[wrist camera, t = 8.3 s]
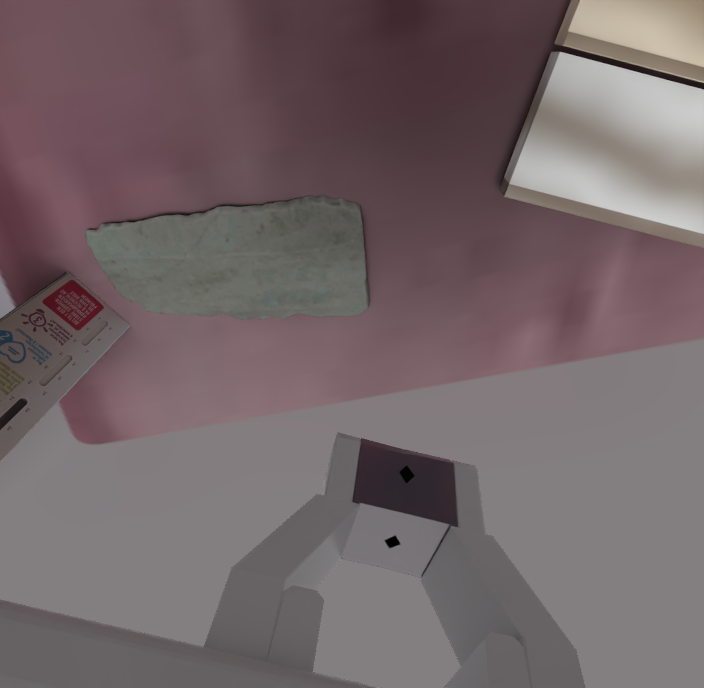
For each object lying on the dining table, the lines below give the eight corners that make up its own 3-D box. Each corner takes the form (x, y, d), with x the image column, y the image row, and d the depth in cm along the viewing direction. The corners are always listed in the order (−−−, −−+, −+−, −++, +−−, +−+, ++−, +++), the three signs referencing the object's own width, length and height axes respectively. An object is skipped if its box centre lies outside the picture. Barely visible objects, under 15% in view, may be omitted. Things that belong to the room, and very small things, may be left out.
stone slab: (376, 301, 41) (360, 187, 34) (373, 322, 39) (356, 205, 32) (136, 313, 45) (82, 213, 38) (122, 332, 43) (63, 230, 36)
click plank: (551, 51, 28) (560, 51, 26) (911, 146, 28) (943, 152, 27) (499, 189, 32) (504, 196, 30) (813, 270, 33) (836, 282, 31)
